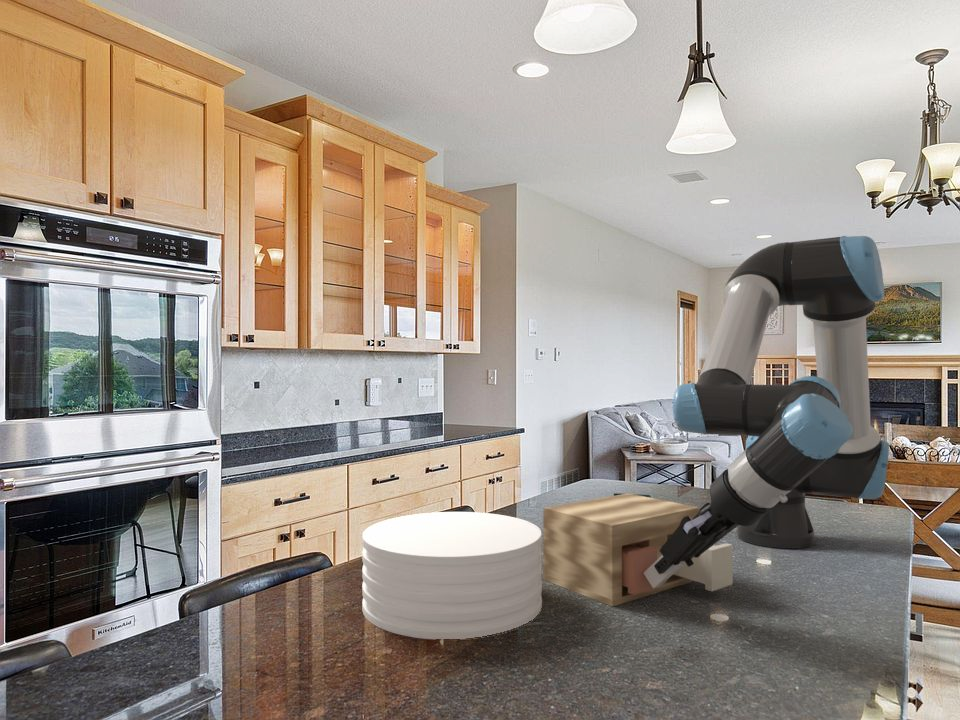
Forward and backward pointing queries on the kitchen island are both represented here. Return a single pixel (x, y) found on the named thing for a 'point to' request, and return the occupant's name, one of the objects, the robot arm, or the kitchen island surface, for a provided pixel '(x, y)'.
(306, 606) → the kitchen island surface
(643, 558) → the rust plug
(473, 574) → the plate stack
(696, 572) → the cream plug
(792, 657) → the kitchen island surface
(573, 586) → the wooden box
